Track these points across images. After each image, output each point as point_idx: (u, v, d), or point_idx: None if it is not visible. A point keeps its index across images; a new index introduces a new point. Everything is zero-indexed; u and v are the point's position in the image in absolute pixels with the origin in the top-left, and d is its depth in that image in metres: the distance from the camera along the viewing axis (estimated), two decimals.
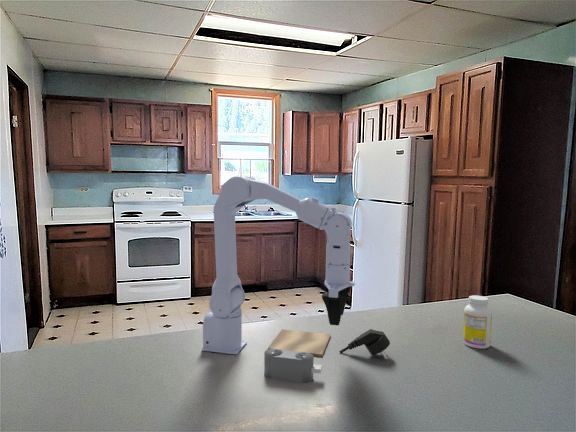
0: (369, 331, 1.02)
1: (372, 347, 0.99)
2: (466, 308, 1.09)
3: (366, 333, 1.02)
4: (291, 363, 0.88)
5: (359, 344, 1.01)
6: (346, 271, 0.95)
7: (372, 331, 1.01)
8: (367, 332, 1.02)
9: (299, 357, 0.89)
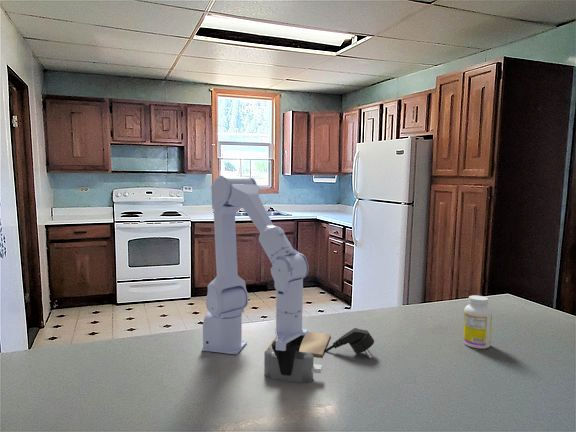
0: (353, 330, 1.02)
1: (356, 346, 1.00)
2: (466, 308, 1.09)
3: (350, 332, 1.02)
4: None
5: (344, 343, 1.02)
6: (297, 319, 0.87)
7: (356, 330, 1.02)
8: (352, 331, 1.02)
9: (299, 356, 0.89)
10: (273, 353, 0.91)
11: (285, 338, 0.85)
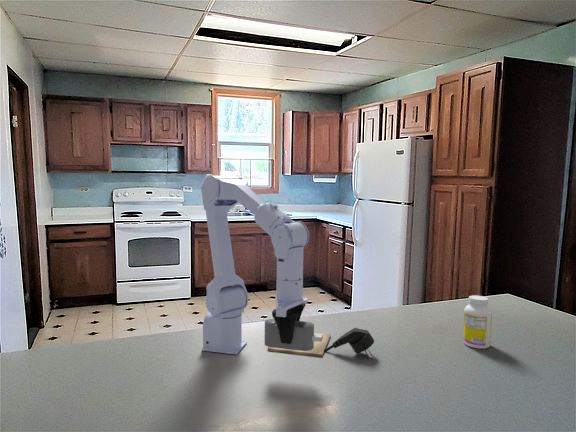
0: (353, 330, 1.02)
1: (356, 345, 1.00)
2: (466, 308, 1.09)
3: (350, 332, 1.02)
4: None
5: (343, 342, 1.02)
6: (297, 287, 0.87)
7: (356, 330, 1.02)
8: (352, 331, 1.02)
9: (299, 325, 0.88)
10: (273, 322, 0.90)
11: (285, 305, 0.84)
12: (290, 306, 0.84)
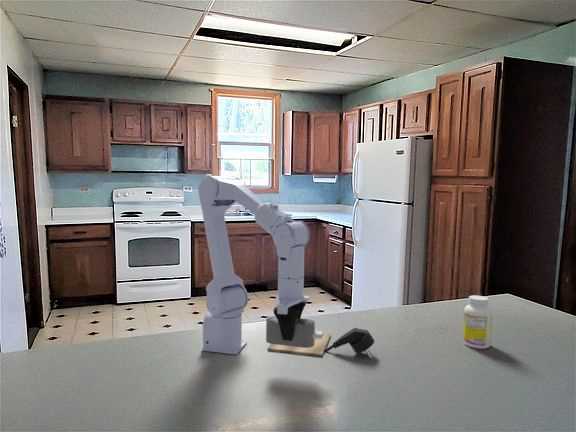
0: (354, 330, 1.02)
1: (356, 346, 1.00)
2: (466, 308, 1.09)
3: (351, 332, 1.02)
4: None
5: (344, 343, 1.02)
6: (298, 285, 0.88)
7: (356, 330, 1.02)
8: (352, 331, 1.02)
9: (300, 322, 0.90)
10: (275, 319, 0.92)
11: (287, 303, 0.86)
12: (291, 304, 0.86)
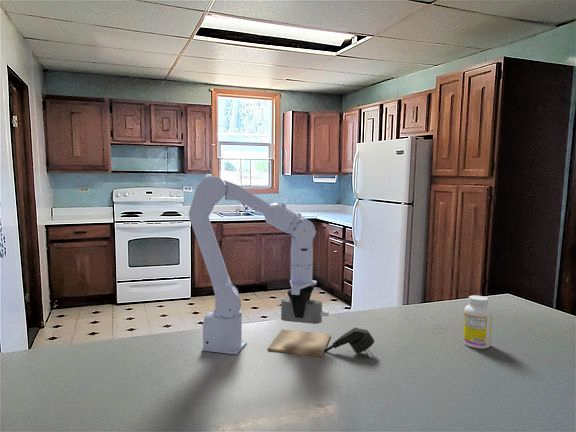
0: (353, 329, 1.02)
1: (356, 345, 1.00)
2: (466, 308, 1.09)
3: (350, 331, 1.02)
4: None
5: (344, 342, 1.02)
6: (308, 271, 1.05)
7: (356, 329, 1.02)
8: (351, 330, 1.02)
9: (310, 303, 1.07)
10: (288, 301, 1.09)
11: (299, 285, 1.03)
12: (302, 286, 1.03)
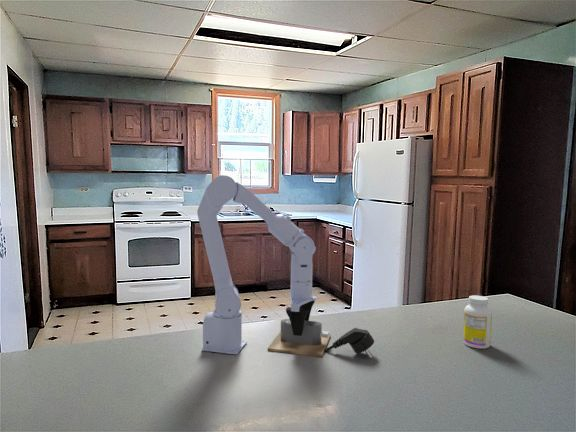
0: (353, 330, 1.02)
1: (356, 346, 1.00)
2: (466, 308, 1.09)
3: (350, 332, 1.02)
4: (303, 329, 1.07)
5: (344, 343, 1.02)
6: (308, 287, 1.06)
7: (356, 330, 1.02)
8: (351, 331, 1.02)
9: (310, 324, 1.08)
10: (288, 322, 1.09)
11: (298, 302, 1.04)
12: (302, 303, 1.03)
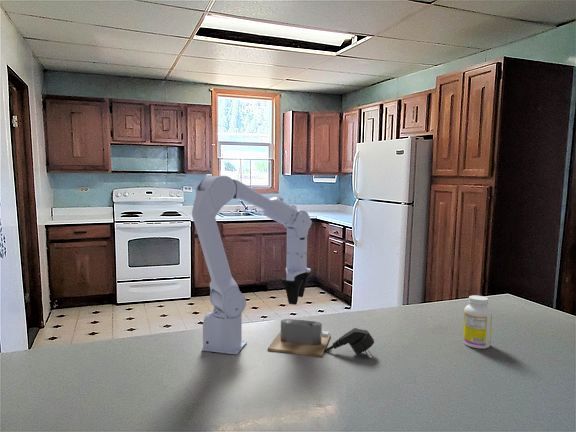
0: (353, 330, 1.02)
1: (356, 346, 1.00)
2: (466, 308, 1.09)
3: (350, 332, 1.02)
4: (303, 329, 1.07)
5: (344, 343, 1.02)
6: (302, 259, 1.13)
7: (356, 330, 1.02)
8: (351, 331, 1.02)
9: (310, 324, 1.08)
10: (288, 322, 1.09)
11: (293, 272, 1.11)
12: (297, 273, 1.10)
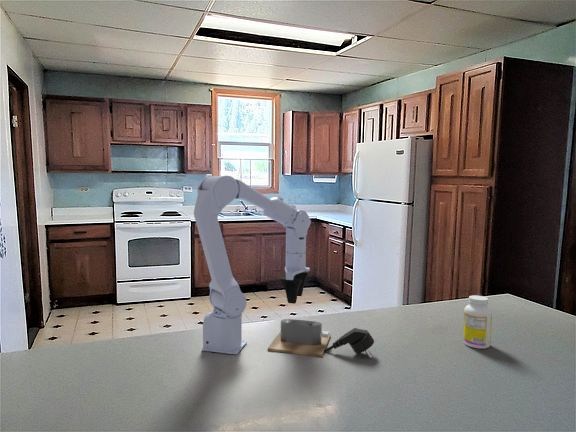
0: (353, 330, 1.02)
1: (356, 346, 1.00)
2: (466, 308, 1.09)
3: (350, 332, 1.02)
4: (303, 329, 1.07)
5: (344, 343, 1.02)
6: (301, 258, 1.14)
7: (356, 330, 1.02)
8: (351, 331, 1.02)
9: (310, 324, 1.08)
10: (288, 322, 1.09)
11: (293, 271, 1.12)
12: (296, 272, 1.11)
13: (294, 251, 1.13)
